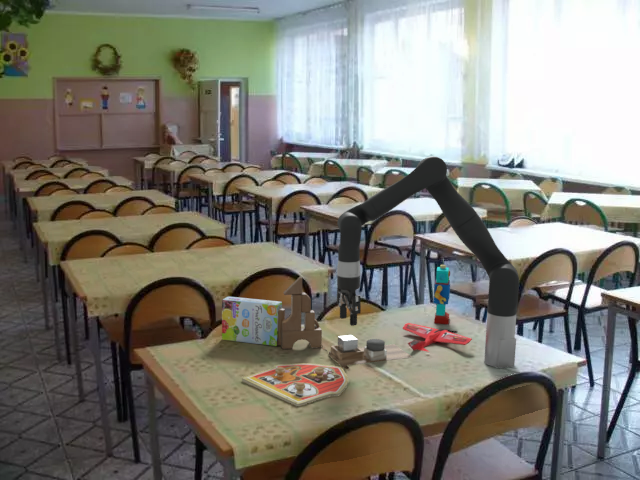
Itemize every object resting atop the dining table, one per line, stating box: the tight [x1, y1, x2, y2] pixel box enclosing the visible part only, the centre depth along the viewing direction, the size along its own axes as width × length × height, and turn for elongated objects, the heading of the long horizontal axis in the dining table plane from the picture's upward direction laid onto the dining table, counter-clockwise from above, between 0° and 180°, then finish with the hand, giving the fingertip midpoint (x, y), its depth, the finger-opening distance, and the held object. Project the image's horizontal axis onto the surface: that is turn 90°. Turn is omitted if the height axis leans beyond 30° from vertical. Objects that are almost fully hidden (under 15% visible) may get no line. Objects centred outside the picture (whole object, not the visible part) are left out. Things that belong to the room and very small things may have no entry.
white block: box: [337, 334, 359, 353], centre depth 248 cm, size 5×5×6 cm
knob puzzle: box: [241, 362, 349, 407], centre depth 228 cm, size 29×30×4 cm
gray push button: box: [365, 338, 386, 351], centre depth 247 cm, size 6×6×5 cm
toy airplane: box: [402, 322, 473, 353], centre depth 262 cm, size 27×27×5 cm
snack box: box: [221, 296, 283, 347], centre depth 263 cm, size 21×6×15 cm, turn 72°
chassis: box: [328, 343, 413, 370], centre depth 250 cm, size 14×24×4 cm, turn 111°
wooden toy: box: [277, 275, 323, 350], centre depth 259 cm, size 16×7×25 cm, turn 100°
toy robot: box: [433, 258, 451, 325], centre depth 291 cm, size 12×6×25 cm, turn 168°
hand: (348, 321), depth 247 cm, fingers open, 8 cm apart
